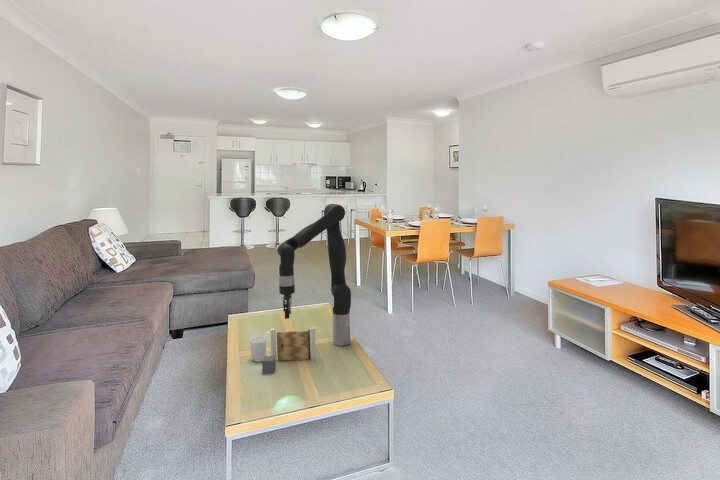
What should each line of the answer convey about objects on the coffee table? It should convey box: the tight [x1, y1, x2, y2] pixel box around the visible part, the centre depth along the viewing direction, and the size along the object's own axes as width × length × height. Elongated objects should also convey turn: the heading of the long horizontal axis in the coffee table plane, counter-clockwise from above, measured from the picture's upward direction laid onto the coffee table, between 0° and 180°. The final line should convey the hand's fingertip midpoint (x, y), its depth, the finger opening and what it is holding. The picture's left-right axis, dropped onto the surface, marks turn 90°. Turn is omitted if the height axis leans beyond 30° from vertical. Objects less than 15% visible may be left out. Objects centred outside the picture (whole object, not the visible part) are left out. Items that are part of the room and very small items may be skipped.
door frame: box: [270, 326, 317, 362], centre depth 179 cm, size 21×2×16 cm, turn 94°
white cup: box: [249, 335, 268, 363], centre depth 181 cm, size 8×8×10 cm
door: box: [276, 329, 311, 361], centre depth 179 cm, size 16×2×15 cm, turn 94°
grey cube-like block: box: [261, 355, 276, 375], centre depth 170 cm, size 5×5×6 cm
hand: (287, 316), depth 185 cm, fingers open, 5 cm apart
